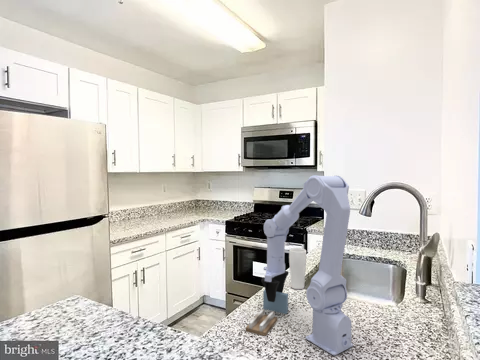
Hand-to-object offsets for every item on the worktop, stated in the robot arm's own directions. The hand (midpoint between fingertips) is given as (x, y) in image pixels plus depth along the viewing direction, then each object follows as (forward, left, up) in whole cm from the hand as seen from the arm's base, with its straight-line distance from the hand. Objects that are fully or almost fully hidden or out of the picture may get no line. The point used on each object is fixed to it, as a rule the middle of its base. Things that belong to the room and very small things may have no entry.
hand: (275, 296), depth 96 cm
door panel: (0, 0, -5) cm, 5 cm away
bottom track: (-6, +10, -4) cm, 12 cm away
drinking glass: (+10, -21, -5) cm, 24 cm away
